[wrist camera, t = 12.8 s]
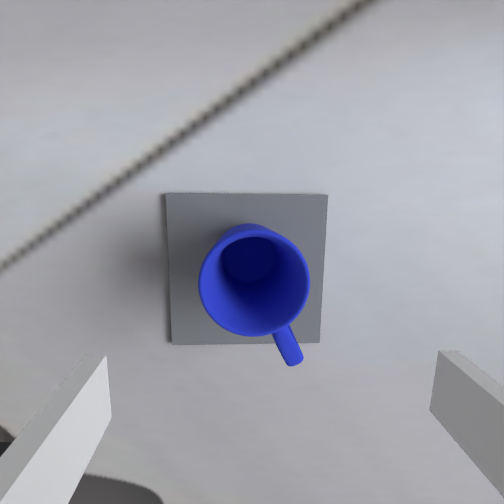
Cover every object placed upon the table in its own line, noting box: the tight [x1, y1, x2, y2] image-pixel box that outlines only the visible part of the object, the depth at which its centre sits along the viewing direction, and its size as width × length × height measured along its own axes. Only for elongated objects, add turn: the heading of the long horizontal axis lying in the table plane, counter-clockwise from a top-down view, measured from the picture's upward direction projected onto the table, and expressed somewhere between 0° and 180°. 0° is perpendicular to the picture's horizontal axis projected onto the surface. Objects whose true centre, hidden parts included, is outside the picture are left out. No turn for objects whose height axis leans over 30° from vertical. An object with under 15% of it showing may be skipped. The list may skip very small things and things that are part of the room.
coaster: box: [165, 193, 328, 345], centre depth 34 cm, size 16×16×1 cm
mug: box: [198, 223, 310, 366], centre depth 29 cm, size 8×12×10 cm
